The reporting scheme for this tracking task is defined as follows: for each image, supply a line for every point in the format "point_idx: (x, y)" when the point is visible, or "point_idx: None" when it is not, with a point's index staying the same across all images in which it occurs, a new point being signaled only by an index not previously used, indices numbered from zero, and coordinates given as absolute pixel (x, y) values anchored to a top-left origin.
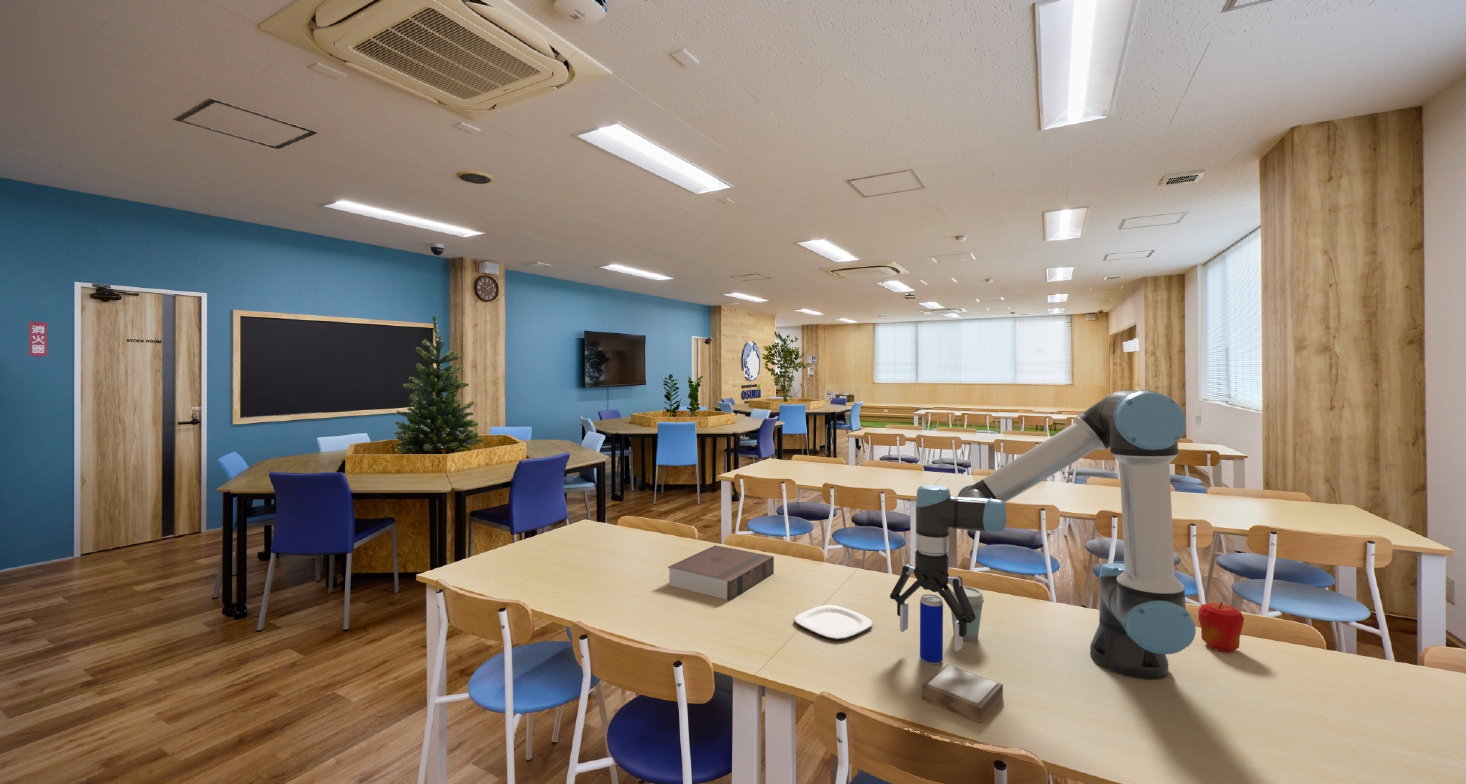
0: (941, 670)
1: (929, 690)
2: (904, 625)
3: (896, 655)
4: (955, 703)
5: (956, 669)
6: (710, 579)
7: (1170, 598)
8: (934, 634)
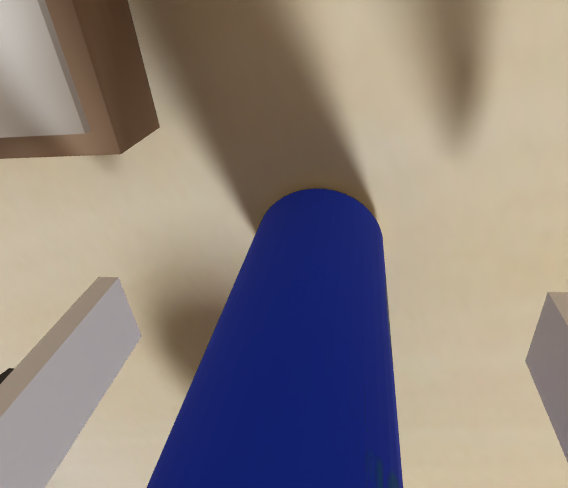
0: (68, 29)
1: None
2: (558, 353)
3: (520, 146)
4: None
5: (22, 116)
6: None
7: None
8: (227, 322)
